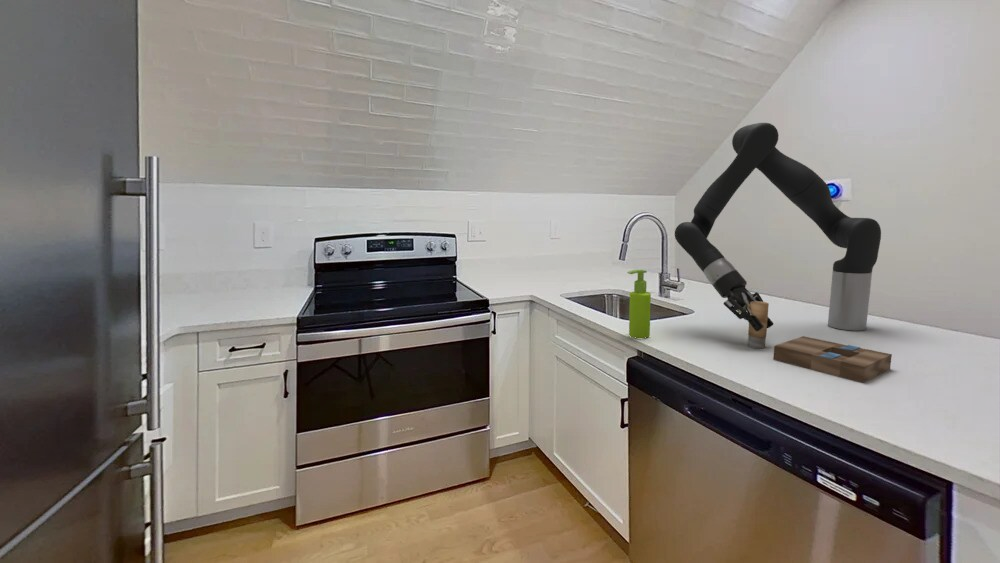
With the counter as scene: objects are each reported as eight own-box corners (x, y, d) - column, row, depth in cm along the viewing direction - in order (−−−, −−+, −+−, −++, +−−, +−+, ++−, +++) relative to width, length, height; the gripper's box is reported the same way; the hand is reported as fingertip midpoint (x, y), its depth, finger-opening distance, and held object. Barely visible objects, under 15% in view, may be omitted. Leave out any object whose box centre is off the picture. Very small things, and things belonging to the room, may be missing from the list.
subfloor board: (802, 349, 113) (803, 335, 112) (890, 369, 97) (891, 353, 97) (773, 359, 106) (774, 344, 105) (862, 382, 90) (864, 365, 90)
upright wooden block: (753, 342, 119) (755, 300, 117) (768, 346, 115) (771, 303, 114) (744, 345, 117) (747, 302, 115) (760, 349, 113) (763, 305, 111)
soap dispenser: (622, 334, 130) (623, 269, 127) (641, 332, 132) (643, 268, 129) (633, 340, 125) (634, 272, 122) (653, 337, 127) (655, 270, 124)
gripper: (718, 271, 116) (761, 324, 107) (748, 267, 123) (791, 316, 114) (699, 288, 121) (739, 339, 113) (729, 283, 128) (769, 331, 120)
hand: (765, 327), depth 114 cm, fingers closed on upright wooden block, 4 cm apart
